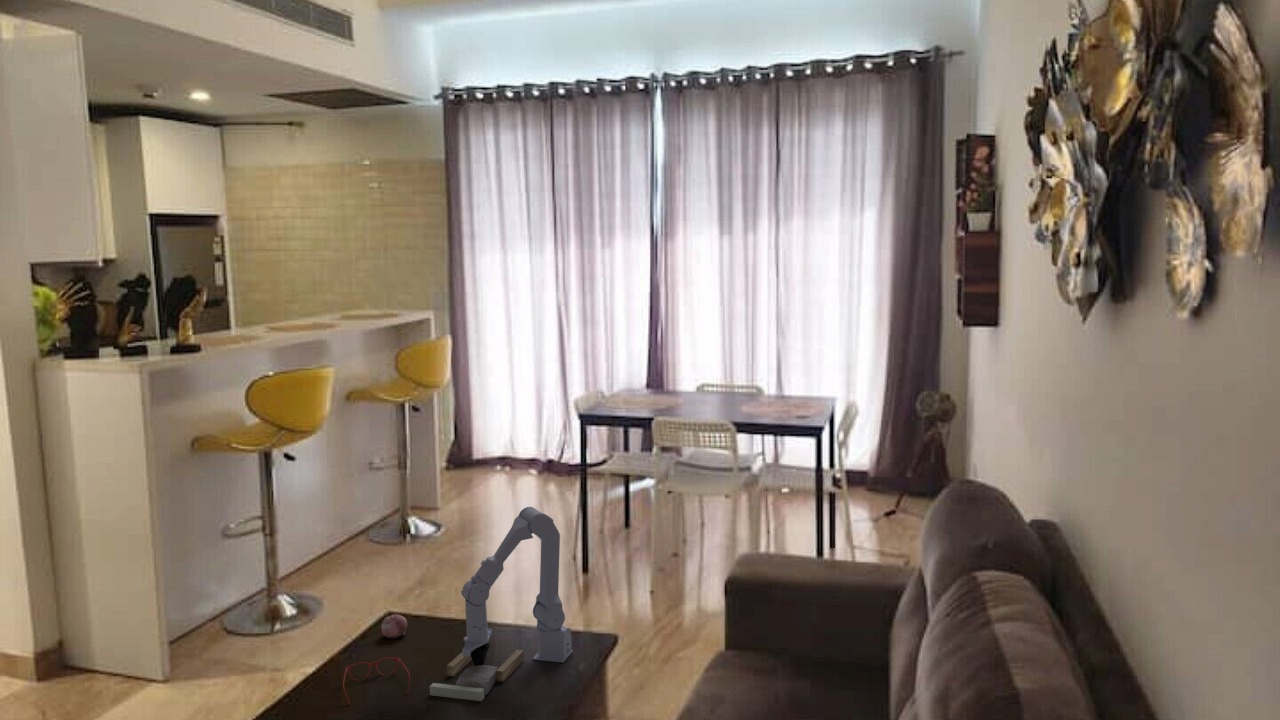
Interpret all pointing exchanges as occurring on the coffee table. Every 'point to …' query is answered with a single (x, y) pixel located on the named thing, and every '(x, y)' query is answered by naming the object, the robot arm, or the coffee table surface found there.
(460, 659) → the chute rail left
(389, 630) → the onion
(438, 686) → the end bar
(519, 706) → the coffee table surface
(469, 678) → the stone block
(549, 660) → the robot arm
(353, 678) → the red eyeglasses
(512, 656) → the chute rail right
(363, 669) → the coffee table surface
